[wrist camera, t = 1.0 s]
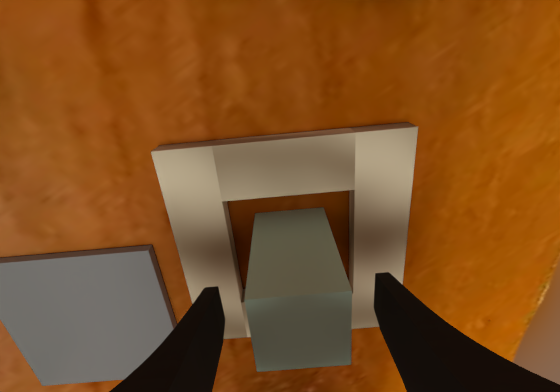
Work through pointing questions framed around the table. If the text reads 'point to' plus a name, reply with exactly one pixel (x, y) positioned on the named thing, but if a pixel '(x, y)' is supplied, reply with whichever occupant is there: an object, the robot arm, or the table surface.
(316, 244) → the part block
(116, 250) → the coaster
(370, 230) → the beige square frame
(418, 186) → the table surface
